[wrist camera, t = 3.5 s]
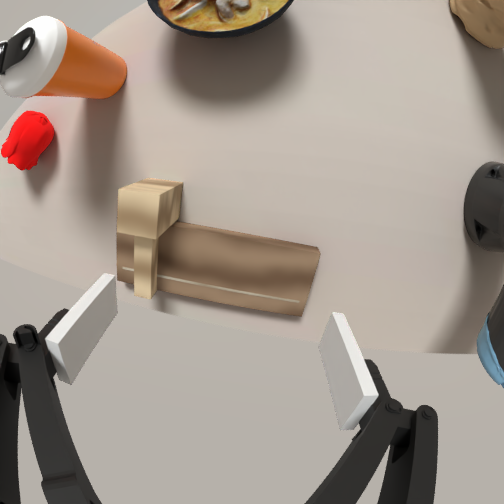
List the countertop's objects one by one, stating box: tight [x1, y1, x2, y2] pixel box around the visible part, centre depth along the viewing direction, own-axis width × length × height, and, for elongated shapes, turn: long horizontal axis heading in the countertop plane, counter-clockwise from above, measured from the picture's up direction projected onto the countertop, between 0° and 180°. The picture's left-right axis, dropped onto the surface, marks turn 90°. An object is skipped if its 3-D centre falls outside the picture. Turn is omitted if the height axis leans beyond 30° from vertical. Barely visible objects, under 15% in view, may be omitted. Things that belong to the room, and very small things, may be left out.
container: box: [450, 0, 504, 49], centre depth 14 cm, size 13×13×18 cm
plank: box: [117, 221, 320, 317], centre depth 39 cm, size 10×28×2 cm, turn 80°
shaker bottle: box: [0, 16, 127, 99], centre depth 21 cm, size 9×9×20 cm
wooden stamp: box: [117, 178, 183, 299], centre depth 35 cm, size 14×5×9 cm, turn 170°
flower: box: [1, 111, 54, 170], centre depth 31 cm, size 8×8×8 cm
